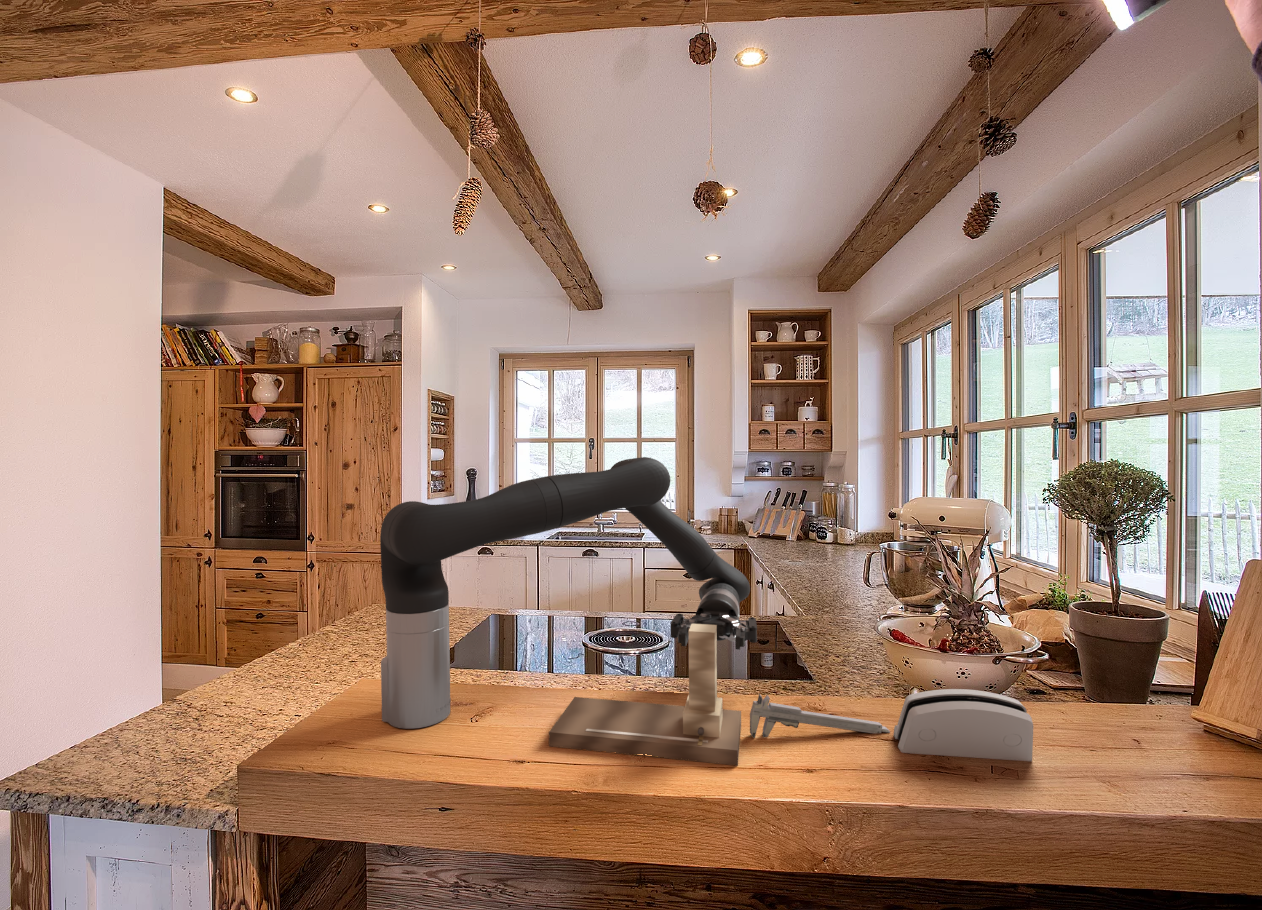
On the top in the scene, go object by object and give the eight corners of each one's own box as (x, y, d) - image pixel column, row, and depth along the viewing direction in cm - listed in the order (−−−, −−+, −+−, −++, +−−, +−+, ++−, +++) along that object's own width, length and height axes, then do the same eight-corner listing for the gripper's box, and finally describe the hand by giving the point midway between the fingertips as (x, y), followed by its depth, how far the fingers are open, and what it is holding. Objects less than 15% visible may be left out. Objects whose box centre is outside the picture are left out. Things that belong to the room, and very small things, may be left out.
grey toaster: (1016, 742, 86) (1028, 685, 82) (1032, 771, 82) (1045, 711, 78) (890, 734, 89) (896, 679, 85) (898, 761, 84) (906, 704, 81)
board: (549, 746, 86) (548, 731, 86) (574, 709, 98) (574, 696, 98) (737, 765, 81) (737, 749, 81) (741, 724, 92) (741, 710, 92)
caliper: (751, 740, 88) (751, 696, 88) (749, 736, 89) (749, 693, 89) (890, 734, 89) (890, 691, 89) (886, 731, 90) (886, 688, 90)
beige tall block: (682, 736, 84) (681, 635, 84) (688, 715, 91) (687, 620, 91) (719, 740, 83) (718, 637, 83) (722, 718, 90) (722, 622, 90)
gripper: (679, 591, 114) (665, 616, 99) (757, 594, 111) (756, 620, 96) (679, 631, 115) (665, 662, 99) (758, 635, 112) (756, 668, 96)
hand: (710, 641), depth 97 cm, fingers open, 8 cm apart
